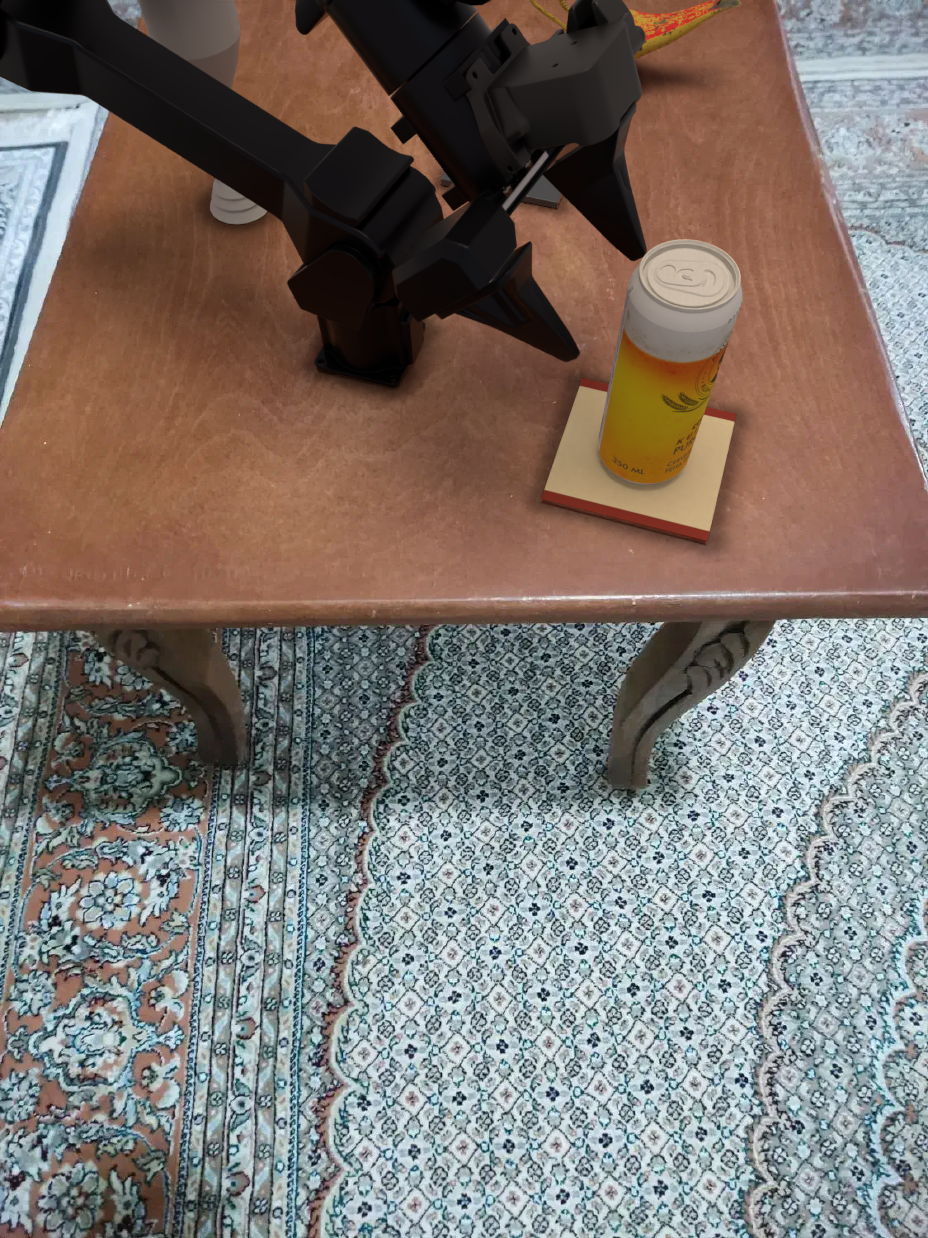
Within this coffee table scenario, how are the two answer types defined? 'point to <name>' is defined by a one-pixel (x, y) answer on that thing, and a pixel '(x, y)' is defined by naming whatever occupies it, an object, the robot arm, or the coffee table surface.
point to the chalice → (204, 68)
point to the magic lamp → (664, 22)
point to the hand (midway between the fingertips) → (608, 306)
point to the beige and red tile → (655, 507)
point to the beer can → (667, 358)
